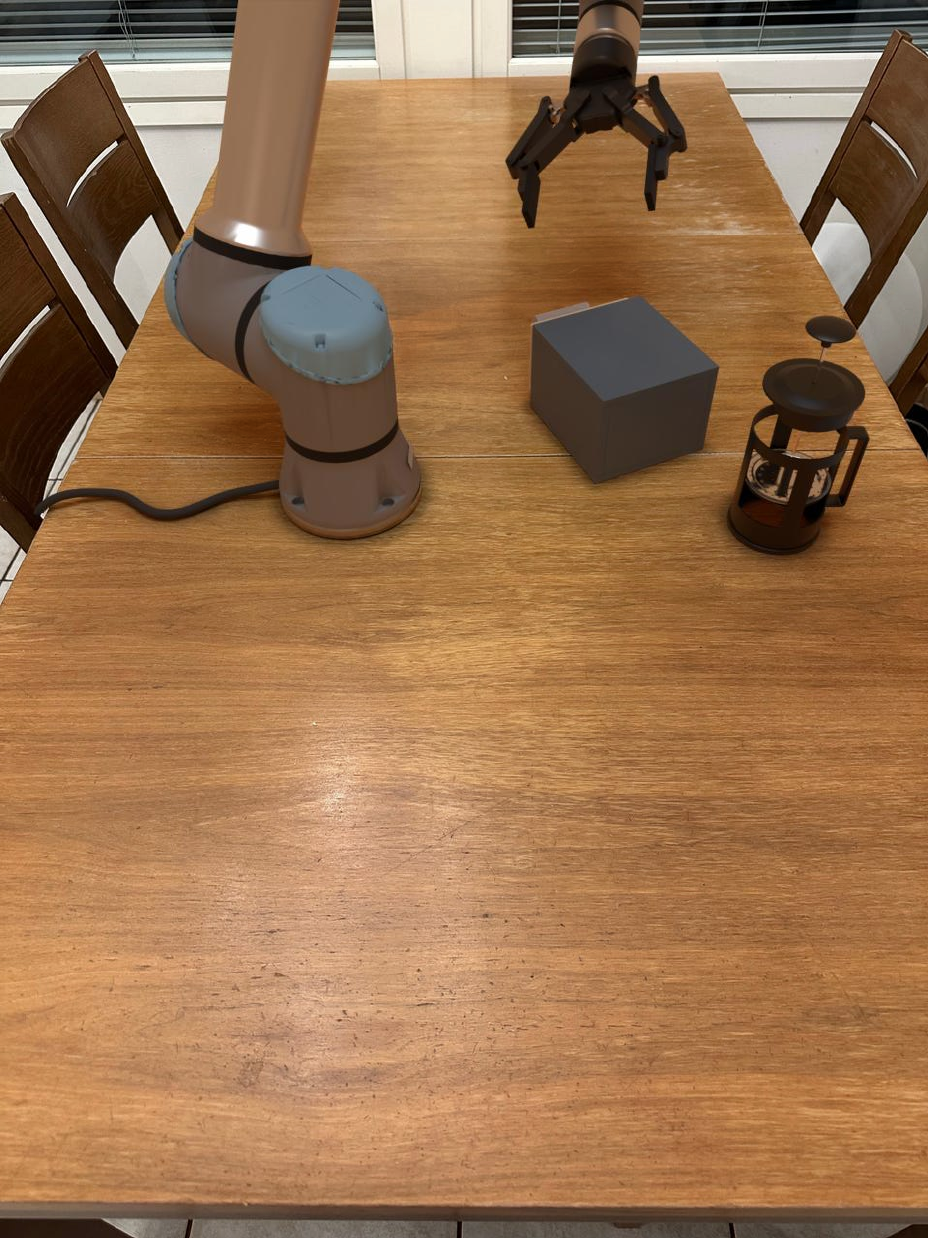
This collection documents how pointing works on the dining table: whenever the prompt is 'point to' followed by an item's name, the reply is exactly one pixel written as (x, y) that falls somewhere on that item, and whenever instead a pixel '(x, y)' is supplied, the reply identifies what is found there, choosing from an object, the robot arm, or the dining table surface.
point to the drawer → (557, 314)
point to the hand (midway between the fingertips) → (587, 211)
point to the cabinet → (621, 387)
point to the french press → (789, 477)
